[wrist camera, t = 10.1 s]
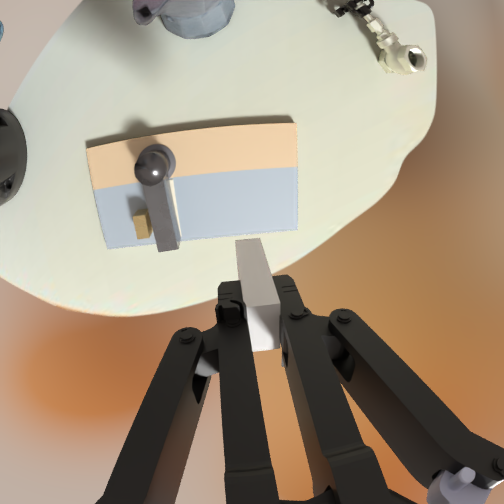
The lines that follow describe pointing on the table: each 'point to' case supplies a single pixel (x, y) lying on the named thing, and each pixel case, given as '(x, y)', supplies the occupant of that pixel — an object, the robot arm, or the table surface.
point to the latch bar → (159, 198)
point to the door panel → (203, 181)
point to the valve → (387, 42)
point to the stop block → (142, 224)
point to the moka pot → (186, 15)
